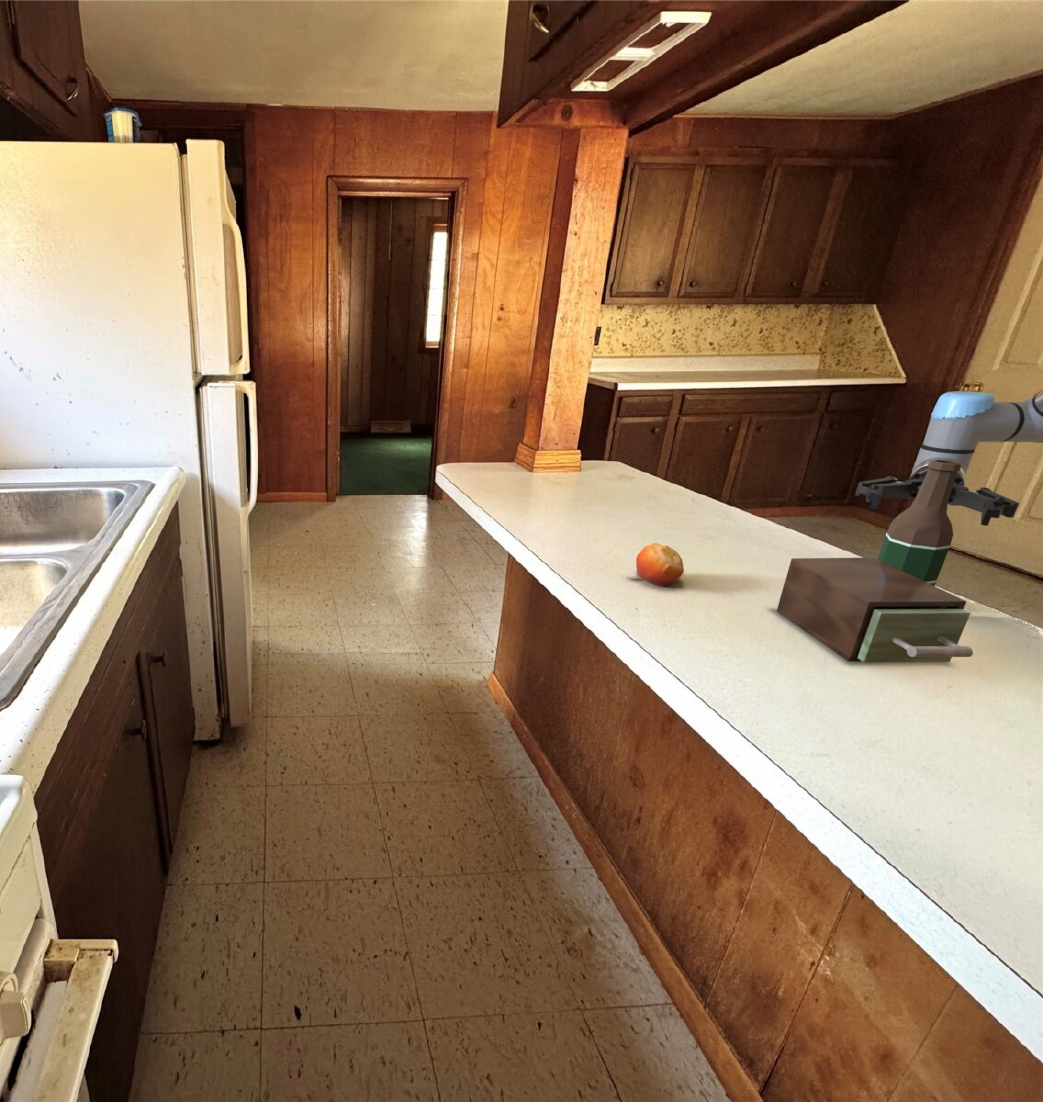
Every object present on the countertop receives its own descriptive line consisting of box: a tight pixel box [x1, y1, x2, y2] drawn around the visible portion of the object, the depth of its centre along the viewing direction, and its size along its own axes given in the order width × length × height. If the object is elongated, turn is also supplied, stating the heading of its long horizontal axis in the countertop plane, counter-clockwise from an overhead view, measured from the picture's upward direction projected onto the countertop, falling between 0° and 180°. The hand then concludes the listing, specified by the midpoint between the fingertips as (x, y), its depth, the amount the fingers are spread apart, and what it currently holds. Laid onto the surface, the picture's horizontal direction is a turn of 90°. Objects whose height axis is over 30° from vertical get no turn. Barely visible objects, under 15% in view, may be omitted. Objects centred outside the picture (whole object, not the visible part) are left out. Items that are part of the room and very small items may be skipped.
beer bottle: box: [877, 459, 961, 587], centre depth 99 cm, size 8×8×24 cm
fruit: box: [633, 542, 685, 587], centre depth 112 cm, size 8×8×8 cm
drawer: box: [858, 607, 974, 663], centre depth 88 cm, size 19×11×8 cm, turn 177°
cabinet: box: [776, 557, 967, 663], centre depth 92 cm, size 16×13×10 cm
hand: (928, 509), depth 102 cm, fingers open, 13 cm apart
